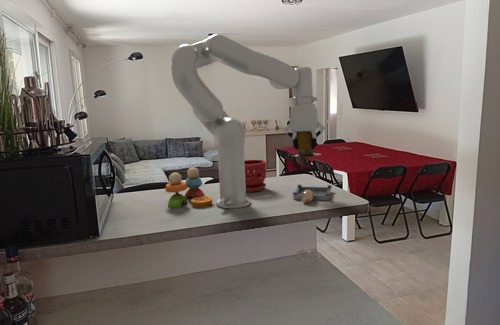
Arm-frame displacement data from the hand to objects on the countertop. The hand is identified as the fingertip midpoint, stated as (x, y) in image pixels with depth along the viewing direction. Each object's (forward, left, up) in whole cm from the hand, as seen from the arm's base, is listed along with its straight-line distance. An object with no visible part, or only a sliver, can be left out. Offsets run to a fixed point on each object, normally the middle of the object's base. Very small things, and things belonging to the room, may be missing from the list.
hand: (305, 148), depth 146 cm
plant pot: (+7, +24, -19) cm, 31 cm away
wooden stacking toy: (-14, +41, -19) cm, 47 cm away
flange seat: (-3, -3, -18) cm, 19 cm away
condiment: (0, -1, -3) cm, 3 cm away
